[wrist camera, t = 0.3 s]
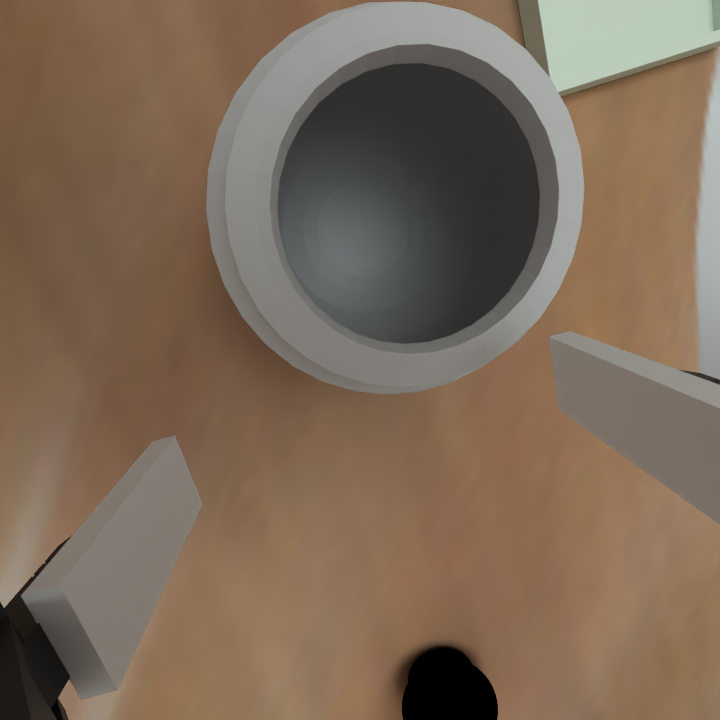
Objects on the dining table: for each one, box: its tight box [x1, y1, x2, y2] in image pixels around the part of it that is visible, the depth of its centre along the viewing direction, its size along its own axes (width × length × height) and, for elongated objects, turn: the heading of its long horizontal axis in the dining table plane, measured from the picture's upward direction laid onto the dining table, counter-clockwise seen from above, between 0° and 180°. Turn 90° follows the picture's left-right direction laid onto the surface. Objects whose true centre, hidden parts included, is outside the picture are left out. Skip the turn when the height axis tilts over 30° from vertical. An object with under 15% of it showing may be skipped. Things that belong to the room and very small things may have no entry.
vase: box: [206, 2, 584, 394], centre depth 28 cm, size 20×20×24 cm
